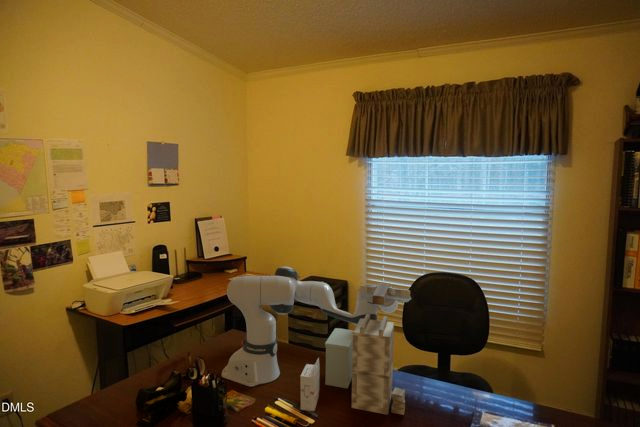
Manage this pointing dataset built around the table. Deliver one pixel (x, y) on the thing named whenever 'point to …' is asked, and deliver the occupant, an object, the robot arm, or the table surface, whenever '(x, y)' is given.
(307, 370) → the ink cartridge box
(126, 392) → the table surface
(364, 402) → the birch rack
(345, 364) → the pale grey upright box
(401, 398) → the offcut stack
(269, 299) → the robot arm
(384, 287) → the walnut strip
